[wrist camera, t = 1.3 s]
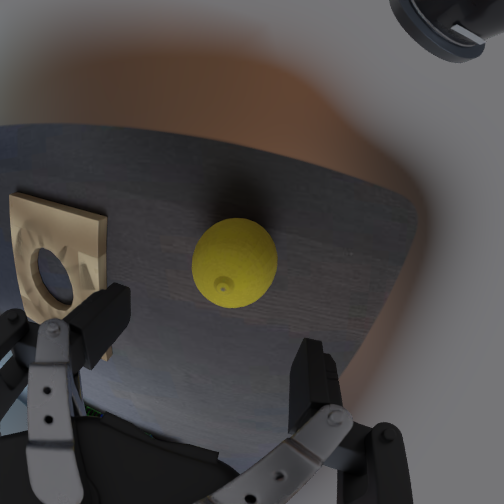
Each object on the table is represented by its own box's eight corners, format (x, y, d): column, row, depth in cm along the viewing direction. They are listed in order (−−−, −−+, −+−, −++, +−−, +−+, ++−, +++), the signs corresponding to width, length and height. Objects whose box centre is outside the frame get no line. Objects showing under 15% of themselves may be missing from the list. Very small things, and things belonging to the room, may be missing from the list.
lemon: (208, 266, 23) (174, 319, 16) (214, 202, 21) (176, 231, 14) (272, 278, 23) (265, 338, 15) (284, 214, 21) (284, 250, 13)
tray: (17, 191, 23) (9, 194, 22) (107, 216, 23) (98, 220, 21) (31, 310, 30) (25, 315, 28) (112, 354, 29) (107, 361, 28)
